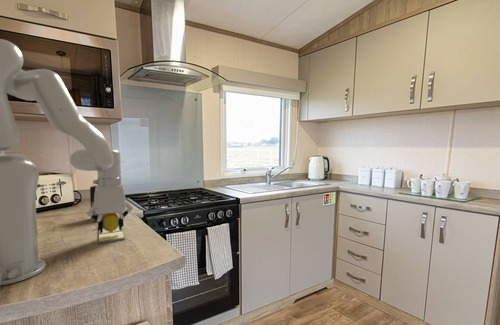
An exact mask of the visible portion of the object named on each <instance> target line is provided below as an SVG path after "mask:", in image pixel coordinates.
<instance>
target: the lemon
mask: <svg viewBox="0 0 500 325" xmlns="http://www.w3.org/2000/svg"><path fill="white" fill-rule="evenodd" d="M102 225H103V228H104V229H105V230H106V231H109V232H110V233H112V232H113V231H114V230H116V229H117V227H118V225H119V216H118V214H117V213H116V214H115V213H112V214H106V215H105V216H104V217H103V220H102Z"/></svg>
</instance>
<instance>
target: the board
mask: <svg viewBox="0 0 500 325" xmlns="http://www.w3.org/2000/svg"><path fill="white" fill-rule="evenodd" d="M121 228H122V230H119V225H118V227H117V229H116V230H114V231H113V232H112V233H110V232H109V231H106V230H105V229H104V228H103V232H102V233H100V230H98V241H97V244H98V245H101V244H107V243H108V244H109V243H112V242H113V243H115V242H120V241H125V240H126V239H125V233H124V229H123V227H121Z"/></svg>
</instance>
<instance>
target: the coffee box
mask: <svg viewBox="0 0 500 325" xmlns="http://www.w3.org/2000/svg"><path fill="white" fill-rule="evenodd" d="M96 187H98V185H91V186H90V187H89V192H90V194H89V197H90V199H89V201H90V208H91V207H92V206H93V205H94V195H95V188H96ZM92 213H93V214H95V211H93V212H92ZM95 215H97V214H95ZM104 215H105V214H103V216H102V218H101V219H102V221H103V217H104ZM97 216H98V215H97ZM94 221H95V222H97V221H96V220H95V219H93V218H92V217H90V222H94Z"/></svg>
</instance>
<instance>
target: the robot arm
mask: <svg viewBox="0 0 500 325" xmlns="http://www.w3.org/2000/svg"><path fill="white" fill-rule="evenodd" d="M23 65H24V56H23V53H22V51H21V50H20V48H19V47H18V46H17V45H16V44H14V43H13V42H11V41H9V40H7V39H2V38H0V286H5V285H10V284H14V283H17V282H20V281H21V282H22V281H25V280H27V279H30V278H33V277H35V276H37V275H39V274H40V273H42V272H43V271H44V270H45V269H46V267H47V264H46V261H44V260H42V259H39V244H38V224H37V223H38V222H37V218H38V217H37V203H36V202H37V190H38V184H39V178H40V177H39V176H40V175H39V169H38V167H37V166H36V164H35V163H34V162H33V161H31V159H29V158H26V157H23V156H18V155H10V154H9V155H8V154H7V155H6V153H5V151H9V150H11V149H13V148H15V147H16V146H17V145H18V143H19V142H20V131H19V129H18V128H19V127H18V126H17V123H16V120H15V117H14V114H13V111H12V108H11V105H10V101H9V98H8V95H10V96H13V97H15V98H18V99H21V100H24V101H31V102H32V101H36V103H37V104H38V106H39V108H40V109H41V111H42V112H43V113H44V115H45V117H46V119H47V121H48V122H49V124H50V126H52V127H53V128H54V129H55V130H57V131H59V132H61V133H63V134H65V135H68V137H71V138H73V139H75V140H76V141H78V142H79V143H80V144H81V145H82V146H83V148H80V149H78V150H77V149H76V150H75V151H73V152H72V154H70V156H69V162H70V164H71V166H72V168H74V169H76V170H79V171H83V172H84V171H86V172H87V171H88V172H89V171H92V172H93V171H95V172H97V179H94V180H92V182H93V183H92V184H93V185H94V184H95V185H96V186H98V187H96V188H95V195H94V205H93V206H92V207H91V206H90V208H89V209H88V210H87V212H86V215H87V216H89V217H90V218H91V217H92V218H93V219H95V220H96V221H95V222H96V223H97V230H98V231H99V230H100V233H102V232H103V225H102V221H103V220H102V219H101V218H102V216H103V214H112V213H116V214H117V213H118V214H117V215H119V216H118V218H119V230H122V229H123V227H124V218H126V216H127V215H128V214H130V213H131V211H132V210H133V206H132V205H130V204H129V203H128V202H127V201H126V193H125V188H124V184H122V179H121V178H122V177H121V176H122V174H121V173H122V172H121V171H122V170H121V153H120V151H119V150H118V149H111V147H110V145H109V143H108V141H107V139H106V138H105V136H104V135H103V133H101V132H100V131H99V130H98V128H96V127H95V126H94V125H93V124H91V123H90V122H89V121H88V120H86V118H84V117H83V115H82V114H81V113H80V111H79V108H78V106H77V105H76V103H75V101H74V99H73V98H72V96H71V94H70V93H69V90H68V89H67V87H66V85H65V82H64V81H63V80H62V79H63V78H61V77H60V75H59V74H58V73H57V72H55V71H52V70H50V69H46V68H36V69H32V70H31V69H29V70H25V69H22V67H24V66H23ZM93 211H95V214H97V215H98V216H97V215H95V214H93V213H92V212H93ZM121 227H122V228H121Z"/></svg>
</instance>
